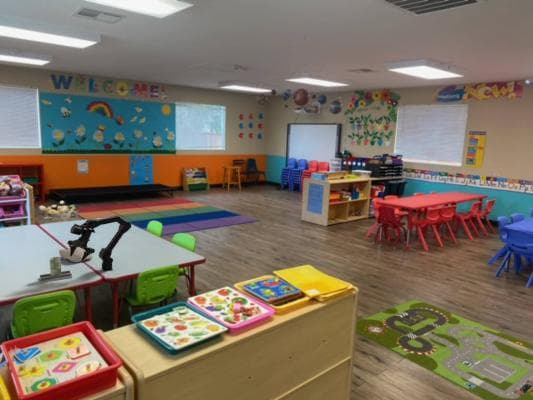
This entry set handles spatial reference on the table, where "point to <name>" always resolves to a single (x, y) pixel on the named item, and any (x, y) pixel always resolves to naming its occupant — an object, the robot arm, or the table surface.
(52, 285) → the table surface
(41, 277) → the door track
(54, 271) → the grey green block
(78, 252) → the animal model
